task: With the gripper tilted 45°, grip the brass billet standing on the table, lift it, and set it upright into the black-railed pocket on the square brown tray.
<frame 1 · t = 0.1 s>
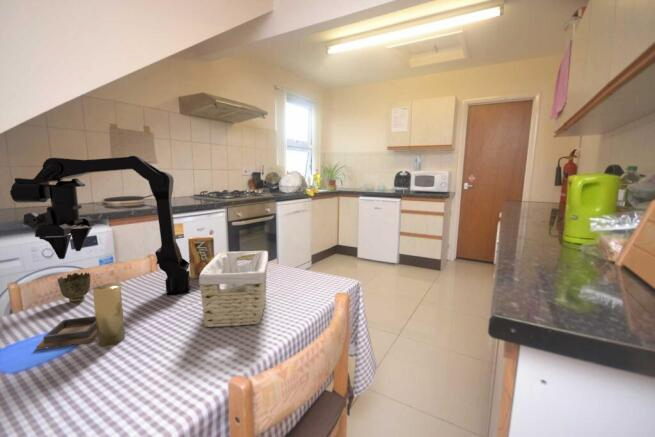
hand: (70, 254, 84), 15 cm above the table, tool pointing down, fingers open, 9 cm apart
square brown tray: (76, 334, 68), on the table
candy box: (202, 276, 110), on the table
storage basket: (239, 309, 83), on the table
cup: (77, 302, 86), on the table
billet: (111, 340, 66), on the table
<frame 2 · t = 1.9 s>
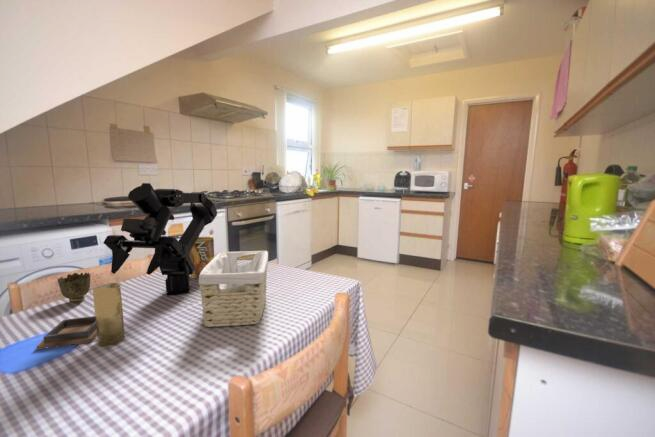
hand: (130, 273, 72), 13 cm above the table, tool tilted 45°, fingers open, 9 cm apart
nothing on the table moved.
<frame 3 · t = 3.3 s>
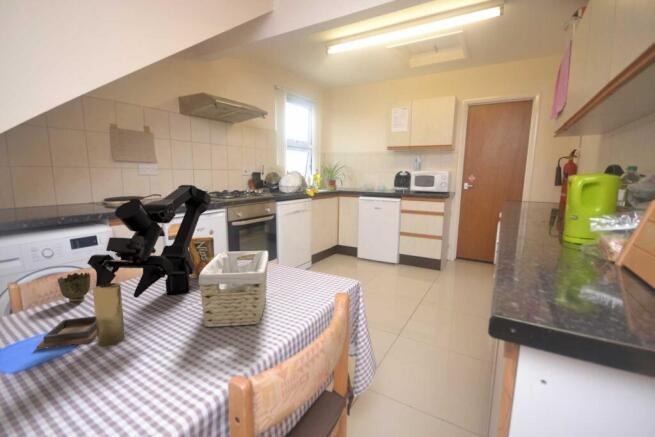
hand: (115, 296, 67), 10 cm above the table, tool tilted 45°, fingers open, 9 cm apart
nothing on the table moved.
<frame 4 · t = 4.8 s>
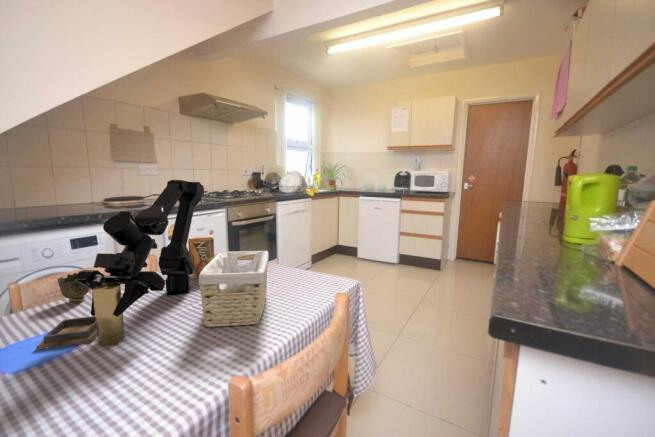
hand: (104, 315, 64), 7 cm above the table, tool tilted 45°, fingers closed on billet, 5 cm apart
billet: (111, 340, 66), on the table, touching gripper
everything else where it was.
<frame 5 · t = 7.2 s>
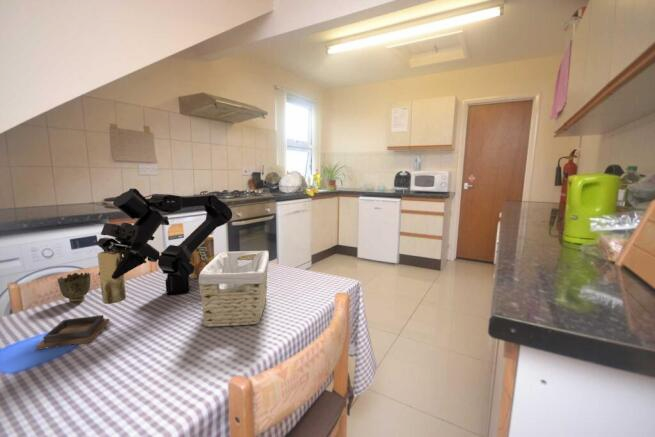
hand: (106, 277, 73), 12 cm above the table, tool tilted 45°, fingers closed on billet, 5 cm apart
billet: (114, 299, 76), point 5 cm above the table, touching gripper
everything else where it was.
when the fingers open (9 cm above the table, at t = 9.8 s): billet drops 1 cm, resting on square brown tray.
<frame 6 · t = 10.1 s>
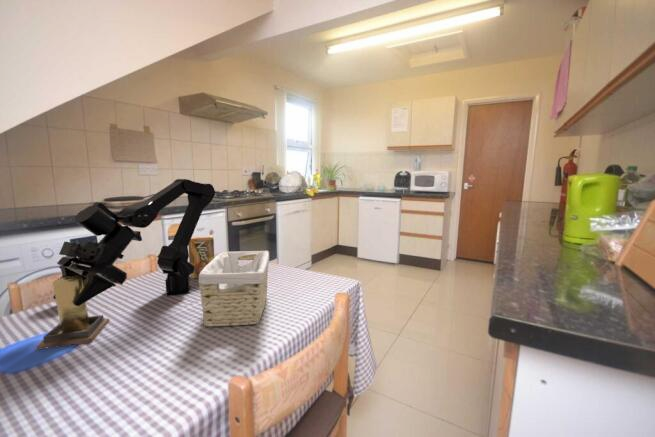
hand: (65, 302, 66), 9 cm above the table, tool tilted 45°, fingers open, 8 cm apart
billet: (76, 330, 68), point 1 cm above the table, touching square brown tray
everything else where it was.
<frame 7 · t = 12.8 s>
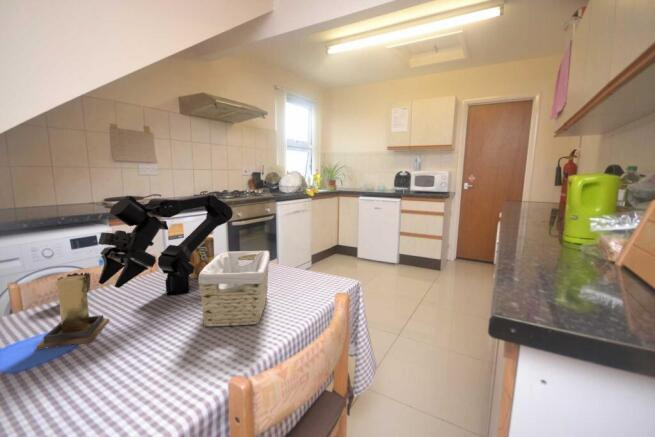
hand: (108, 285, 74), 9 cm above the table, tool tilted 40°, fingers open, 9 cm apart
nothing on the table moved.
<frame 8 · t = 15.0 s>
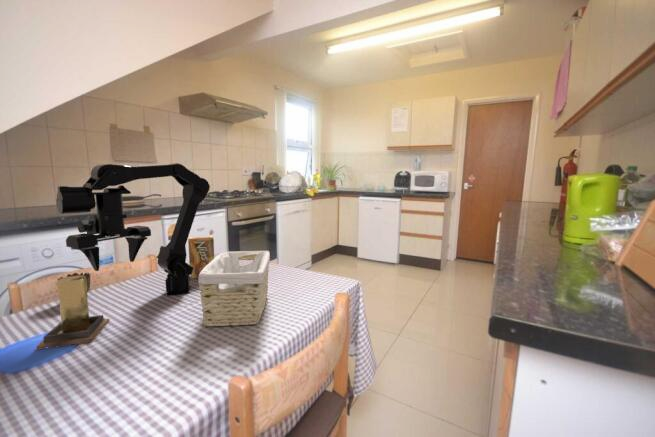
hand: (115, 265, 79), 13 cm above the table, tool pointing down, fingers open, 9 cm apart
nothing on the table moved.
at the end: billet 0.0 cm off-centre on the square brown tray, point 0.8 cm above the square brown tray's base; billet tilted 1°; the gripper is holding nothing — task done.
